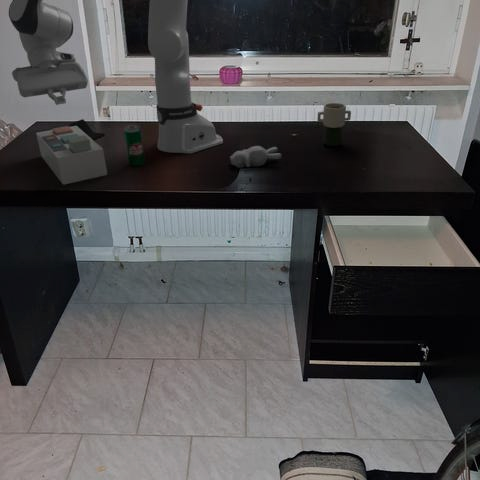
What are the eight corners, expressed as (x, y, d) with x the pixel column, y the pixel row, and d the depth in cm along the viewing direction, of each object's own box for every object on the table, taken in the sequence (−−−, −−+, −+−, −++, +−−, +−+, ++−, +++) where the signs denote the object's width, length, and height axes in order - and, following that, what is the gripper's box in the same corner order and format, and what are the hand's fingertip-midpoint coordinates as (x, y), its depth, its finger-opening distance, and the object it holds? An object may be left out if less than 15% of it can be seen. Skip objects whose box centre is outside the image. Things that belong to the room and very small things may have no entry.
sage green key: (87, 149, 147) (84, 135, 145) (92, 154, 143) (89, 139, 141) (70, 153, 145) (67, 138, 143) (74, 158, 141) (71, 142, 139)
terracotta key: (70, 139, 163) (68, 125, 161) (74, 143, 159) (72, 129, 157) (55, 142, 161) (52, 128, 159) (59, 146, 157) (56, 132, 155)
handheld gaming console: (90, 140, 170) (72, 116, 169) (77, 152, 173) (59, 128, 172) (107, 135, 181) (90, 112, 179) (94, 146, 184) (78, 123, 182)
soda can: (131, 168, 151) (126, 130, 145) (126, 163, 155) (121, 125, 149) (147, 165, 153) (142, 127, 147) (142, 160, 157) (137, 123, 151)
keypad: (81, 148, 168) (76, 124, 164) (107, 174, 147) (102, 147, 143) (41, 156, 162) (35, 131, 158) (63, 184, 141) (57, 156, 137)
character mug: (345, 140, 168) (348, 102, 162) (351, 147, 162) (354, 107, 156) (313, 142, 168) (315, 103, 161) (318, 149, 162) (320, 109, 155)
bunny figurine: (228, 148, 153) (275, 139, 154) (230, 163, 156) (277, 154, 156) (231, 159, 145) (281, 149, 145) (234, 174, 147) (283, 165, 148)
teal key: (79, 147, 156) (76, 133, 153) (83, 151, 152) (81, 137, 150) (63, 150, 153) (60, 136, 151) (67, 155, 150) (64, 140, 148)
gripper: (9, 62, 143) (24, 102, 141) (79, 53, 152) (94, 91, 150) (10, 75, 149) (25, 114, 146) (78, 66, 158) (92, 103, 156)
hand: (61, 103), depth 148 cm, fingers closed
